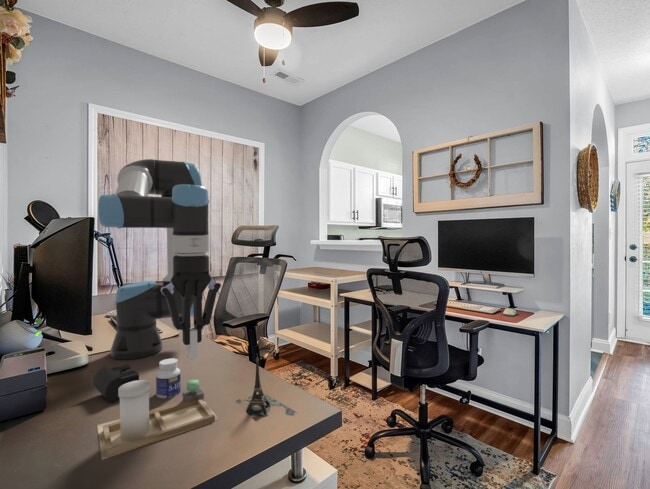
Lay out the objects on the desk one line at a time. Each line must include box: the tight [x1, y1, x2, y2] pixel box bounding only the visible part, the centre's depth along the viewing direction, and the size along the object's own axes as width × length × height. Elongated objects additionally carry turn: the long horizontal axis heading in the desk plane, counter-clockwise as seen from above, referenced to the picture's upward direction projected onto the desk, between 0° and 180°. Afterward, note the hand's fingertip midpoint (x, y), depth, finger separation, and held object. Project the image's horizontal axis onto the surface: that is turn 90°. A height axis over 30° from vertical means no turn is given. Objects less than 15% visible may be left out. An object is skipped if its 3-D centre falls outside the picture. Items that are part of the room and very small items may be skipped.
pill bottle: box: [155, 358, 182, 399], centre depth 80 cm, size 5×5×9 cm
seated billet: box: [118, 379, 151, 442], centre depth 63 cm, size 5×5×9 cm
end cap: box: [92, 364, 140, 404], centre depth 80 cm, size 10×7×7 cm
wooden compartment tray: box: [96, 387, 220, 461], centre depth 67 cm, size 13×20×3 cm, turn 127°
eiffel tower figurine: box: [234, 354, 298, 417], centre depth 74 cm, size 15×10×13 cm
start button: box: [186, 379, 200, 394], centre depth 76 cm, size 3×3×4 cm
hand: (192, 357), depth 76 cm, fingers closed
